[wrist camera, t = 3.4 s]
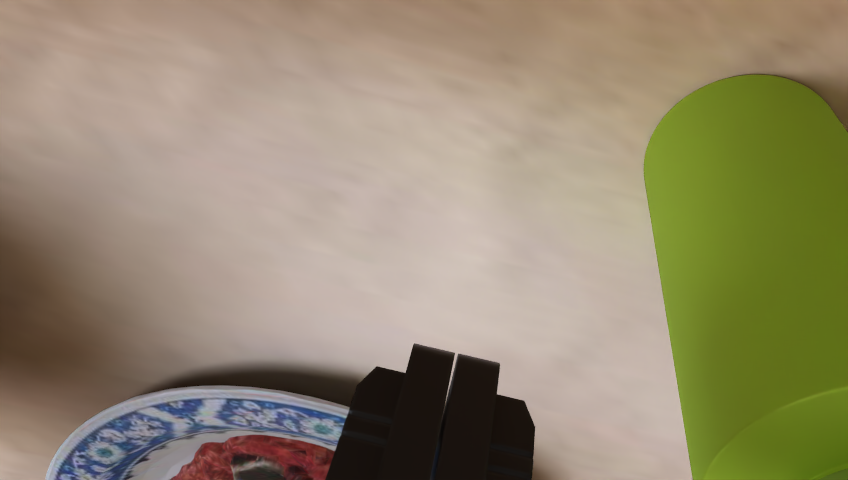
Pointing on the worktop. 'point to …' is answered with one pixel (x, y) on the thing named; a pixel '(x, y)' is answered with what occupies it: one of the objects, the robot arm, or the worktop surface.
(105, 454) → the ceramic plate
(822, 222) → the soap dispenser
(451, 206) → the worktop surface
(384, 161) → the worktop surface
